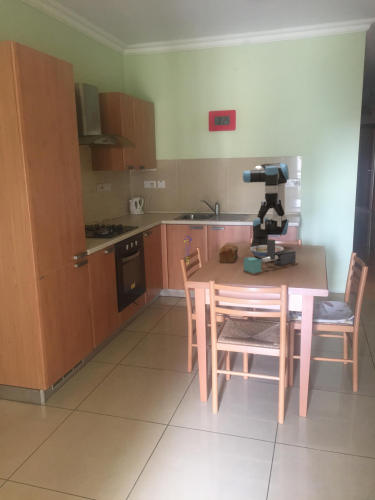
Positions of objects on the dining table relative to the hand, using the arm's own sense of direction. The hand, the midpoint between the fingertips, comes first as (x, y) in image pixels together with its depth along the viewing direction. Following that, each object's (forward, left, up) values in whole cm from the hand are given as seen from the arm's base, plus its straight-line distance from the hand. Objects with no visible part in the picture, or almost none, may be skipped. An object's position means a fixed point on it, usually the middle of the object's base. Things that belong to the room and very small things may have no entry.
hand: (271, 227), depth 240 cm
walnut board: (0, 0, -26) cm, 26 cm away
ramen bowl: (-16, -20, -26) cm, 36 cm away
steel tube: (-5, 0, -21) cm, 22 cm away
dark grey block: (-12, 0, -25) cm, 27 cm away
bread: (+6, -35, -26) cm, 44 cm away
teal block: (+15, 0, -25) cm, 29 cm away
